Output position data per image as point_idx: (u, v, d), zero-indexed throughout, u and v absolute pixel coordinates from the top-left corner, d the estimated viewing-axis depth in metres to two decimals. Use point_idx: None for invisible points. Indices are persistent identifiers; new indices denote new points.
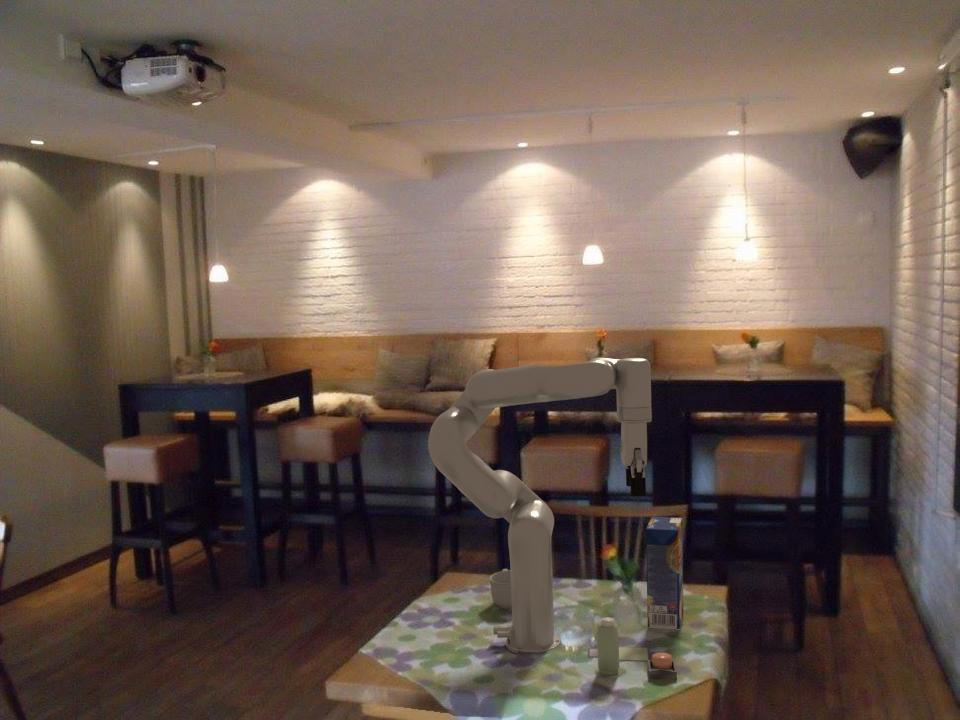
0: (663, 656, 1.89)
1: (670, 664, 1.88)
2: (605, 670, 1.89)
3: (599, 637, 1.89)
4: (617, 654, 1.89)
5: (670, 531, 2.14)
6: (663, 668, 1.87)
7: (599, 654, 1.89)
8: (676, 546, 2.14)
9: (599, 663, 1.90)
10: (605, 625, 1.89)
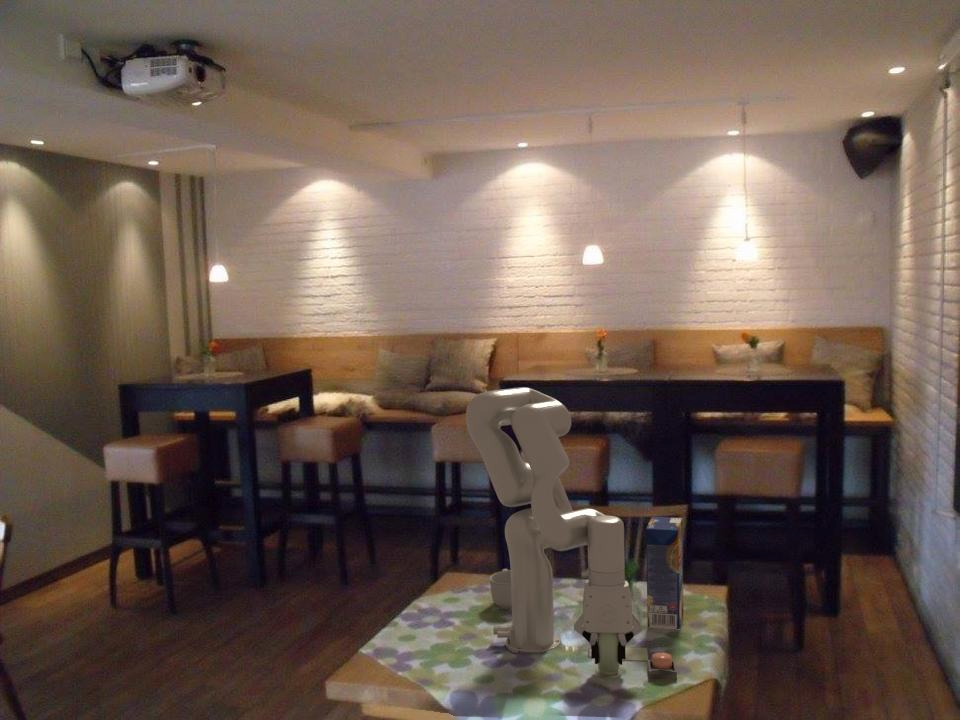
0: (663, 656, 1.89)
1: (670, 664, 1.88)
2: (605, 670, 1.89)
3: (599, 637, 1.89)
4: (617, 654, 1.89)
5: (670, 531, 2.14)
6: (663, 668, 1.87)
7: (599, 654, 1.89)
8: (676, 546, 2.14)
9: (599, 663, 1.90)
10: None
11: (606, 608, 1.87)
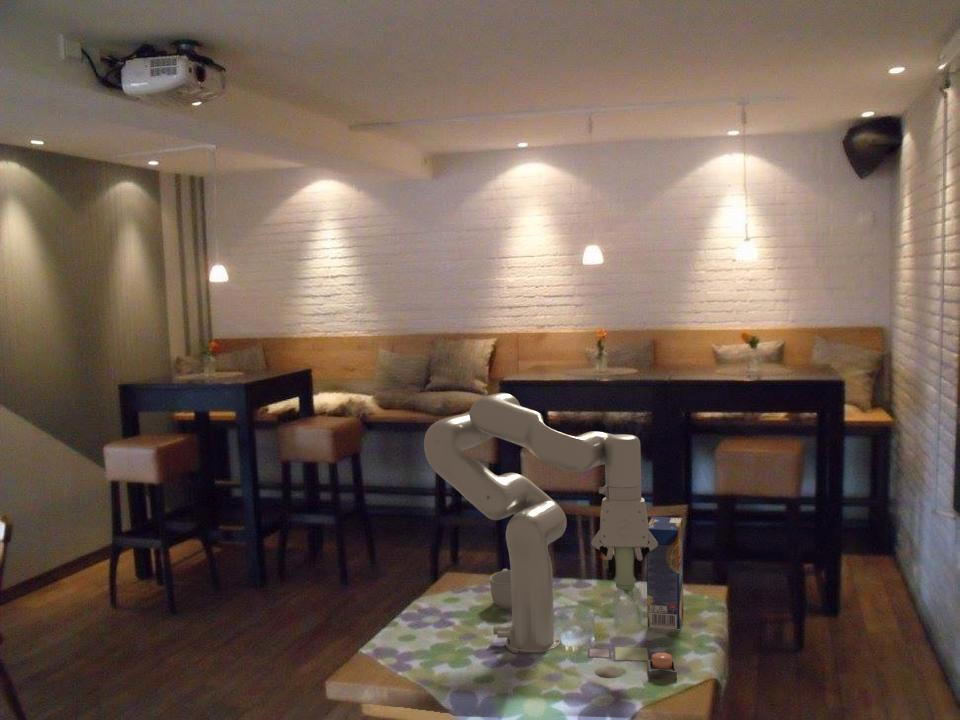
0: (663, 656, 1.89)
1: (670, 664, 1.88)
2: (621, 584, 1.94)
3: (616, 552, 1.95)
4: (633, 568, 1.95)
5: (670, 531, 2.14)
6: (663, 668, 1.87)
7: (616, 568, 1.95)
8: (676, 546, 2.14)
9: (616, 577, 1.95)
10: None
11: (622, 523, 1.93)
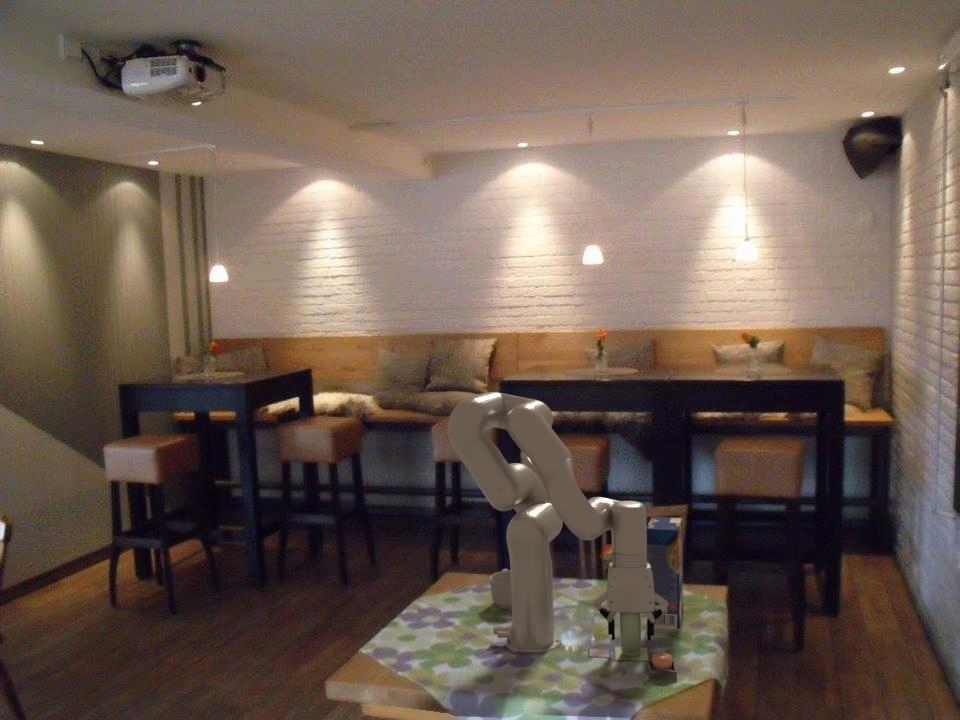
0: (663, 656, 1.89)
1: (670, 664, 1.88)
2: (628, 651, 1.98)
3: (622, 620, 1.98)
4: (639, 636, 1.98)
5: (670, 531, 2.14)
6: (663, 668, 1.87)
7: (622, 636, 1.99)
8: (676, 546, 2.14)
9: (622, 645, 1.99)
10: None
11: (629, 589, 1.96)
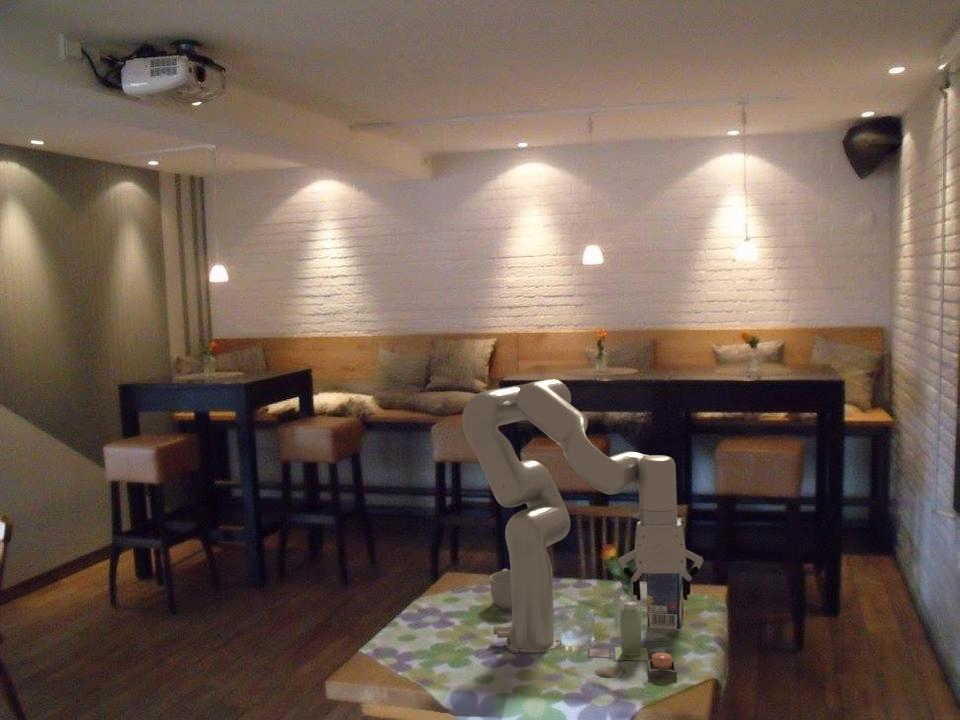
0: (663, 656, 1.89)
1: (670, 664, 1.88)
2: (628, 651, 1.98)
3: (622, 620, 1.98)
4: (639, 636, 1.98)
5: None
6: (663, 668, 1.87)
7: (622, 636, 1.99)
8: None
9: (622, 645, 1.99)
10: (628, 608, 1.98)
11: (659, 548, 1.85)
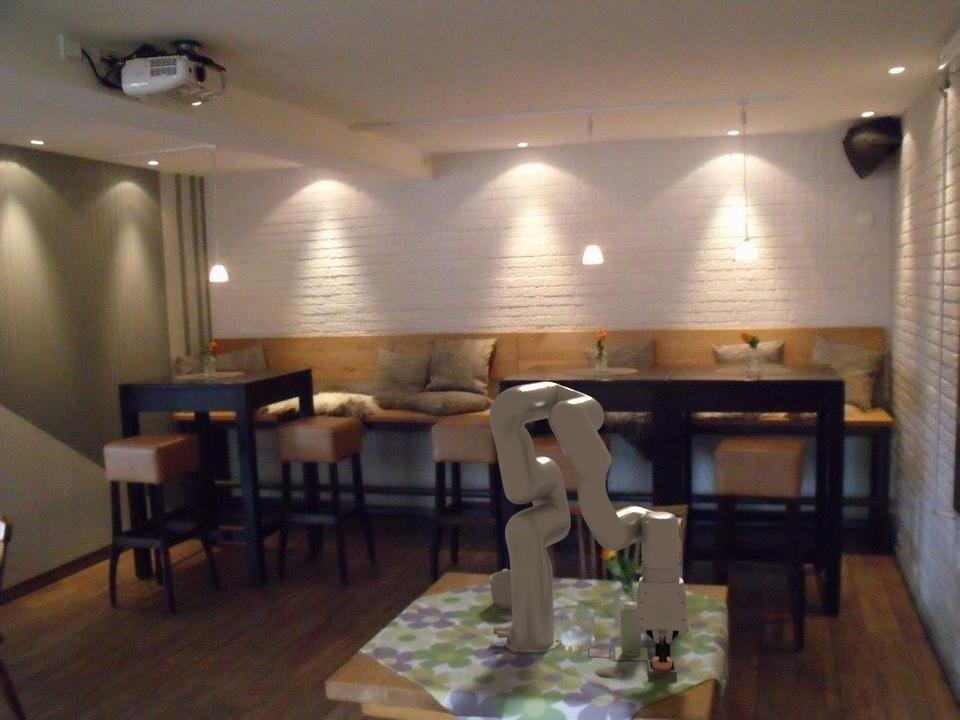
0: None
1: (670, 667, 1.88)
2: (628, 651, 1.98)
3: (622, 620, 1.98)
4: (639, 636, 1.98)
5: None
6: None
7: (622, 636, 1.99)
8: None
9: (622, 645, 1.99)
10: (628, 608, 1.98)
11: (661, 605, 1.85)
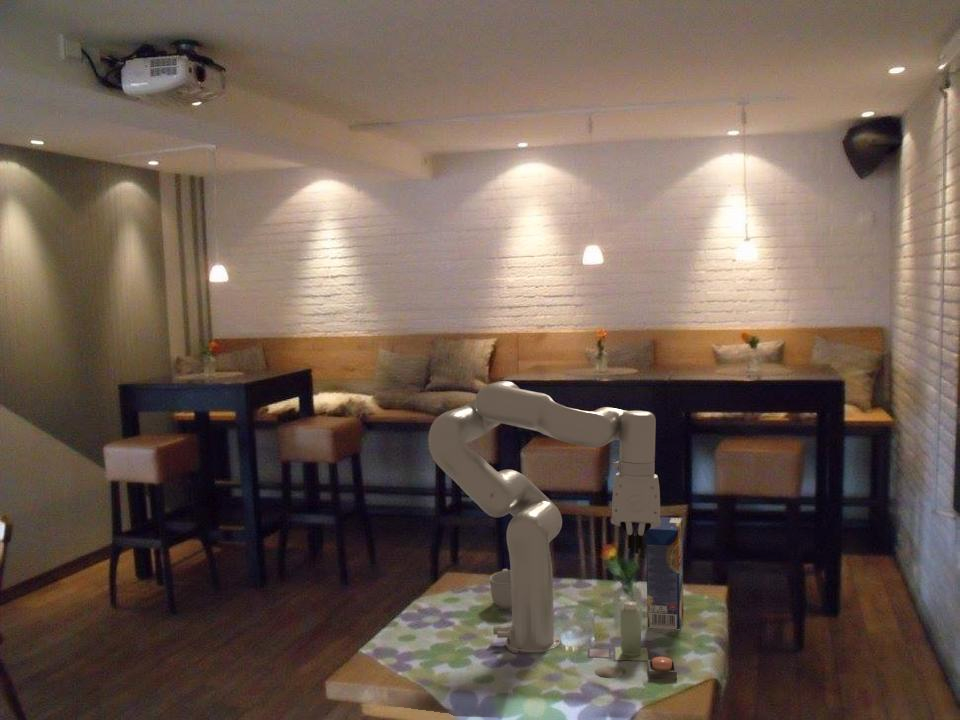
0: (663, 660, 1.89)
1: (670, 668, 1.88)
2: (628, 651, 1.98)
3: (622, 620, 1.98)
4: (639, 636, 1.98)
5: (670, 531, 2.14)
6: None
7: (622, 636, 1.99)
8: (676, 546, 2.14)
9: (622, 645, 1.99)
10: (628, 608, 1.98)
11: (635, 498, 1.94)
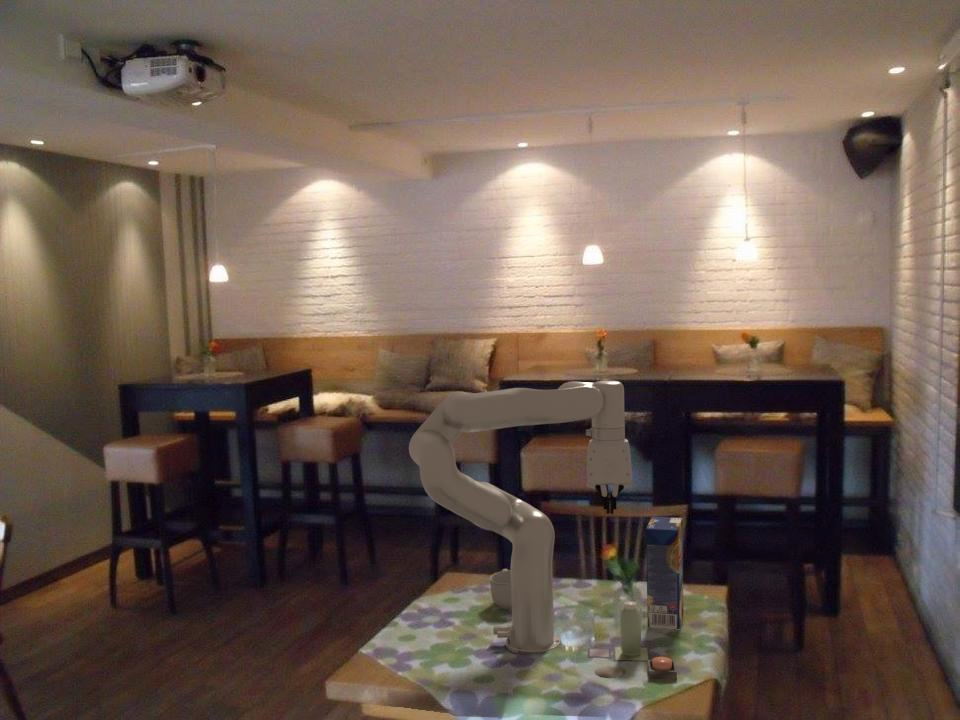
0: (663, 660, 1.89)
1: (670, 668, 1.88)
2: (628, 651, 1.98)
3: (622, 620, 1.98)
4: (639, 636, 1.98)
5: (670, 531, 2.14)
6: None
7: (622, 636, 1.99)
8: (676, 546, 2.14)
9: (622, 645, 1.99)
10: (628, 608, 1.98)
11: (608, 461, 2.09)
